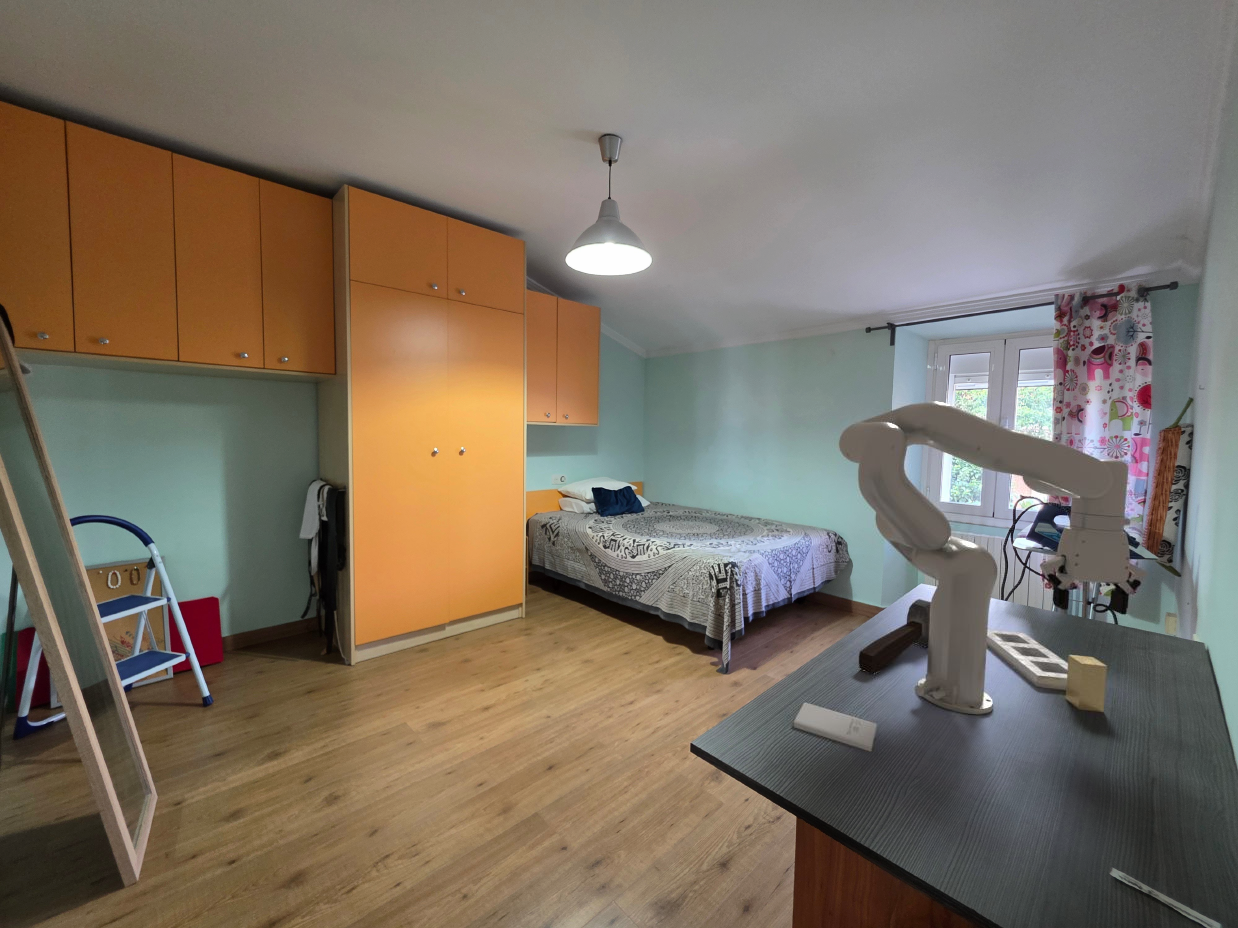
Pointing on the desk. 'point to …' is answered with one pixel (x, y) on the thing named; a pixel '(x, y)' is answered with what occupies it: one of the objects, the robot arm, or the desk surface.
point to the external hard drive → (836, 726)
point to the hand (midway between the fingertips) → (1088, 609)
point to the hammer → (898, 639)
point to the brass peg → (1086, 683)
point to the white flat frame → (1029, 658)
